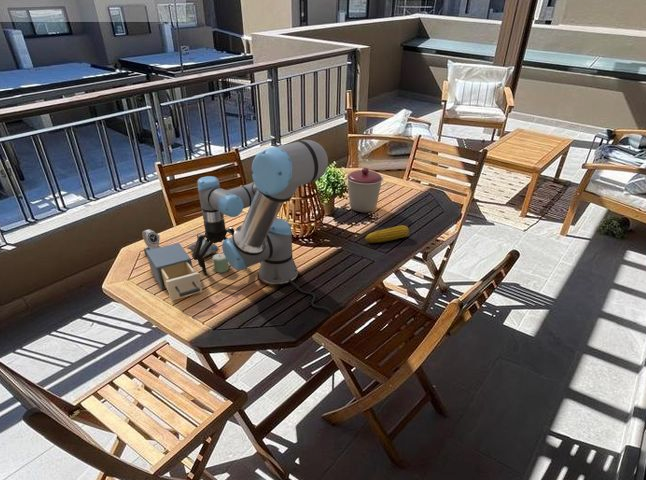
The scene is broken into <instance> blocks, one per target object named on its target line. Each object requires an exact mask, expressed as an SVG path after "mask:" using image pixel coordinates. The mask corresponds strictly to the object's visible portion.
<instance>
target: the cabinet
mask: <svg viewBox="0 0 646 480" xmlns="http://www.w3.org/2000/svg"><path fill="white" fill-rule="evenodd" d="M146 253H147V256H146V257H147V260H148V264H149V268H150V272H151V274H152V275H153V277H154V280H156V283H157V284H158V286H159V287H160V289H161V290H165V289H166V287H165V285H164V284H163V282H162V279H161V275H160V271H159V269H160V268H164V267H167V266H171V265H175V264H179V263H183V262H188V263H189V264H190V266H191V267H192V268H193V269H194V267H193V262H192V258H191V257H190V255H189V254H188V253H187V251H186V250H185V249H184V247H182V245H181V244H180V242H176V243H172V244H168V245H163V246H160V247H159V248H154V249H150V250H146ZM166 290H167V289H166Z"/></svg>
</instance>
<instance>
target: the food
mask: <svg viewBox="0 0 646 480" xmlns="http://www.w3.org/2000/svg"><path fill="white" fill-rule="evenodd" d="M409 233H410V229H409V227H408V226H407V225H403V224H401V225H397V226H392V227H388V228H383V229H379V230H375V231H372V232H370V233H368V234H367V235H366V236H365V238H364V239H365V241H366V242H367V243H369V244H376V243H385V242H390V241H395V240H399V239H403V238H407V237H408V236H409Z"/></svg>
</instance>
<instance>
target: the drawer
mask: <svg viewBox="0 0 646 480" xmlns="http://www.w3.org/2000/svg"><path fill="white" fill-rule="evenodd" d="M192 267H193V266H192ZM192 267H191V266H190V264H189V263H188V262H183V263H179V264H175V265H171V266H167V267H164V268H160V269H159V271H160V275H161V279H162V282H163V284H164V285H165V287H166V290H167V292H168V296H169V299H170V301H175V300H179V299H181V298H185V297H189V296H192V295H196V294H200V293H202V292H203V287H202V282H201V278H200V273H199V272H198V271H197V272H196V271H195V270H194V267H193V268H192Z"/></svg>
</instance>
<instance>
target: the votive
mask: <svg viewBox="0 0 646 480" xmlns="http://www.w3.org/2000/svg"><path fill="white" fill-rule="evenodd" d="M212 263H213V270H214V272H216V273H220V274H221V273H226V272H228V271H229V270H230V267H229V266H230V265H229V263H228V261H227V259H226V257H225V255H224V253H216V254H214V255H212Z"/></svg>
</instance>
